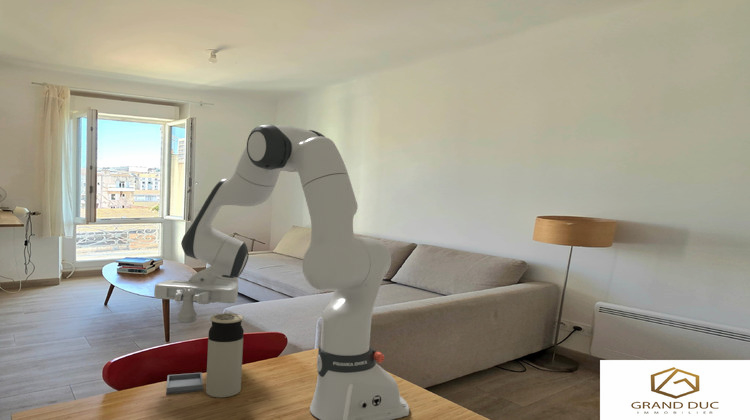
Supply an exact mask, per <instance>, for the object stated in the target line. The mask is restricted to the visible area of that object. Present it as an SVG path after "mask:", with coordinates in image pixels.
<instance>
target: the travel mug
mask: <svg viewBox="0 0 750 420" xmlns="http://www.w3.org/2000/svg"><path fill="white" fill-rule="evenodd" d="M209 319H210V321H211V326H210V328H209V330H208V339H207V357H206V358H207V360H206V361H207V362H206V381H205V386H206V387H205V393H206V394H207V395H208V396H210V397H213V398H220V399H221V398H222V399H223V398H224V399H225V398H229V397H232V396H234V395H237V394H239V393H240V392H241V390H242V389H241V388H242V371H243V370H242V369H243V352H244V351H243V349H244V329H243V328H244V327H243V326H242V322H243V321H242V320H244V317H243V315H241V314H238V313H230V312H229V313H218V314H214V315H212V316H211V317H210V318H209Z"/></svg>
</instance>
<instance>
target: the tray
mask: <svg viewBox="0 0 750 420" xmlns="http://www.w3.org/2000/svg"><path fill="white" fill-rule="evenodd" d="M166 380H167V381H166V395H171V394H172V395H174V394H183V393H184V394H185V393H193V392H194V393H195V392H203V391H204V382H203V372H193V373H191V372H190V373H189V372H188V373H180V374H178V373H177V374H168V375H167V379H166Z"/></svg>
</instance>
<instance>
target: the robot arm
mask: <svg viewBox="0 0 750 420" xmlns="http://www.w3.org/2000/svg"><path fill="white" fill-rule="evenodd" d="M346 167H347V166H346V164H345V161H344V160H343V158H342V155H341V153H340V151H339V149H338V147H337V145H336V144H335V143H334V141H333V140H332V139H330V138H329V137H326V136H325V135H323V134H322V133H320V132H318V131H317V130H313V129H304V128H299V127H295V126H292V125H291V126H290V125H274V124H263V125H258V126H256V127H254V128H253V129H252V130H251V132H250V133H249V135H248V138H247V140H246V145H245V147H244V149H243V151H242V153H241V155H240V158H239V159H238V162H237V165H236V167H235V170H234V172H233V174H232V175H231V176H229V178H222V179H220V180H219V181H218V182H217V183H216V185H215V186H214V187H213V189H212V190H211V192H210V193H209V195H208V197H207V198H206V199H205V201H204V203H203V205H202V207H201V208H200V210H199V212H198V213H197V215H196V217H195V219H194V220H193V222H192V224H191V225H190V227H189V228H188V229H187V230H186V231H185V232H184V235H183V236H182V239H181V242H180V244H181V249H182V250H183V253H184V254H185V256H186V257H188V258H192V259H194V260H198V261H202V263H206V264H207V265H210V266H207V267H206V268H204V269H202V270H200V271H198V272H196V273H195V274H193V275H192V276H191V277H190V278H189V280H177V279H175V280H174V279H173V280H171V279H167V280H164V281H161V282H157V283H155V285H154V289H153V290H154V297H155V299H156V300H157V299H159V300H174V302H183V299H182V298H183V294H182V293H181V292H182V291H183V288H185V287H188V289H189V287H192V288H194V290H195V292H196V293H195V294H194V295H193V303H196V304H198V305H210V304H215V303H220V304H235V303H236V302H237V301H238V294H239V279H238V278H239V277H240V276H241V274H242V273H243V271H244V270H245V268H246V265H247V262H248V260H249V255H250V254H249V250H248V246H247V244H246V243H245V242H244V241H243V240H240V239H238V238H235V237H234V236H231V235H229V234H226V233H224V232H222V231H220V230H218V229H215V228H214V227H213V226H212V222H213V221H214V220H215V218H216V216H217V214H218V212H219V211H220V209H221V208H222V207H223V206H239V207H255V206H259V205H262V204H263V203H265V202H266V201H267V200H269V198H270V197H271V195H272V193H273V192H274V189H275V187H276V185H277V181H278V179H279V176H280V174H281V171H283V172H287V173H288V172H289V173H291V172H292V173H295V172H297V173H298V176H299V179H300V183H301V188H302V191H303V195H304V198H305V203H306V206H307V209H308V213H309V217H310V224H311V225H310V226H311V227H310V228H311V232H310V235H311V236H310V243H309V247H308V249H307V250H306V252H305V253H304V256H303V259H302V266H301V267H302V274H303V276H304V279H305V280H306V282H307V283H308V285H310V286H311V288H314V289H316V290H319V291H327V292H328V291H329V292H333V295H332V297H331V299H330V301H329V303H328V304H327V305H326V307H325V308H324V310H323V312H322V316H321V327H320V328H321V331H320V345H319V346H318V352H317V358H316V359H317V361H316V372H317V379H316V385H315V390H314V393H313V398H312V400H311V402H310V406H309V412H310V413H311V415H312V416H313V417H314V418H316V419H319V420H395V419H401V418H403V417H407V416H409V415H410V406H409V404H408V402H407V401H406V399H405V398H403V396H402V395H400V389H399V386H398V383H397V381H396V379H395V378H394V377H393V376H392V375H391V374H389V372H387V371H386V369H384V368H383V367H381V366H380V365H379V364H381V363H383V362H384V361H385V355H384V354H383V353H382V352H381V351H377V350H376V349H375V348H373V347H371V346H370V344H371V343H370V342H371V329H372V318H373V312H374V308H375V304H376V300H377V297H378V293H379V290H380V287H381V284H382V282H383V280H384V277H385V276H386V275H387V273H388V272H389V271H390V268H391V264H392V255H391V252H390V249H389V248H388V246H387V245H386V244H385V243H384V242H383V241H381V240H379V239H376V238H372V237H367V236H362V237H361V236H360V237H356V236H355V234H354V217H355V215H356V213H357V211H358V201H357V199H356V196H355V191H354V189H353V186H352V183H351V179H350V176H349V173H348V170H347V168H346ZM378 363H379V364H378Z"/></svg>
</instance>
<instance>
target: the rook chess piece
mask: <svg viewBox="0 0 750 420" xmlns="http://www.w3.org/2000/svg"><path fill="white" fill-rule="evenodd" d="M181 293H182V294H183V298H182V299H183V301H182V304H181V309H180V310H179V311H180V312H178V315H177V317H178V318H177V322H179V323H181V324H191V323H195V322H196V321H197V320H198V319H197V316H198V315H197V312H196V310H195V305H194V302H193V295H194V294H195V293H196V292H195V290H194V288H192V287H189V289H188V287H185V288H183V291H182V292H181Z"/></svg>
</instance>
